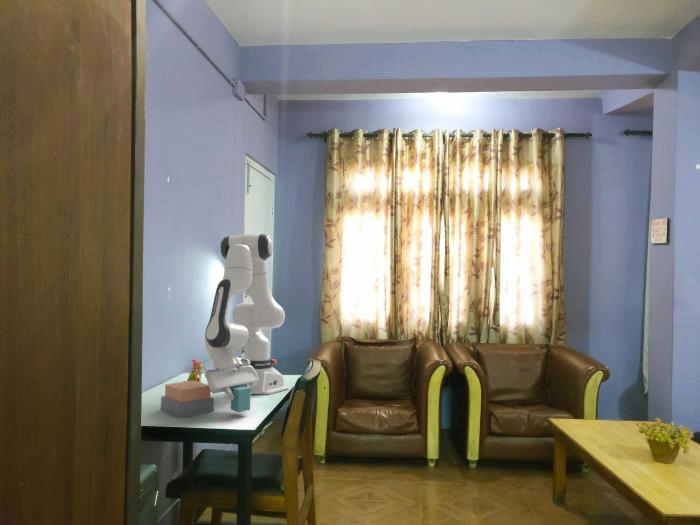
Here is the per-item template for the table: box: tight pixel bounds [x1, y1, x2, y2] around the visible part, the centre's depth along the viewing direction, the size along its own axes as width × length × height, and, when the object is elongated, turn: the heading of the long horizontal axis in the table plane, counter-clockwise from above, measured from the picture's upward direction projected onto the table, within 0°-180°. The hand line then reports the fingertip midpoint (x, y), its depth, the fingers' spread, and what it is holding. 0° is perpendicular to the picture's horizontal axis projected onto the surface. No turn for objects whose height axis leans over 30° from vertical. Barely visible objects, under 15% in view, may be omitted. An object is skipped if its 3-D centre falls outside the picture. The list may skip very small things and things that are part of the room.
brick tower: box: [160, 381, 215, 419], centre depth 198 cm, size 14×14×10 cm
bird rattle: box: [186, 358, 202, 383], centre depth 247 cm, size 6×11×9 cm
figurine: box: [188, 362, 208, 382], centre depth 229 cm, size 8×6×12 cm
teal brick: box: [230, 386, 251, 413], centre depth 194 cm, size 5×5×8 cm
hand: (241, 397), depth 193 cm, fingers closed on teal brick, 5 cm apart
